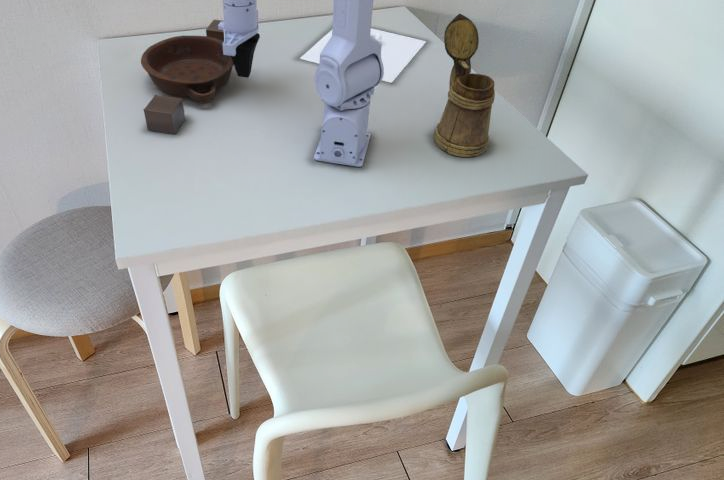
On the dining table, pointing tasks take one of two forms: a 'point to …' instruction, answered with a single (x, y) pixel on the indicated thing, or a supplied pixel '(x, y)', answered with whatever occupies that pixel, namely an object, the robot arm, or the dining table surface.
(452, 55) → the wooden mug
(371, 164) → the dining table surface
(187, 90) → the dish
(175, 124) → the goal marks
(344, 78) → the robot arm
